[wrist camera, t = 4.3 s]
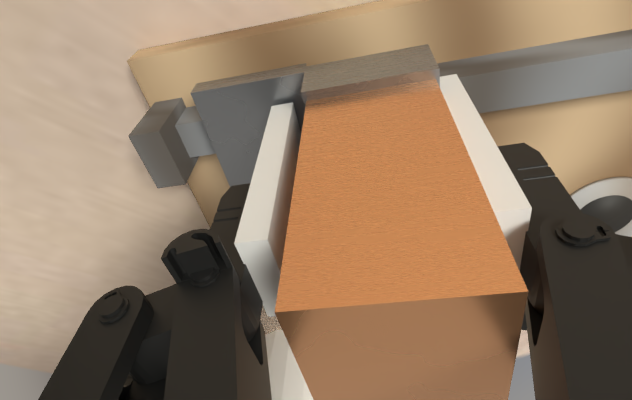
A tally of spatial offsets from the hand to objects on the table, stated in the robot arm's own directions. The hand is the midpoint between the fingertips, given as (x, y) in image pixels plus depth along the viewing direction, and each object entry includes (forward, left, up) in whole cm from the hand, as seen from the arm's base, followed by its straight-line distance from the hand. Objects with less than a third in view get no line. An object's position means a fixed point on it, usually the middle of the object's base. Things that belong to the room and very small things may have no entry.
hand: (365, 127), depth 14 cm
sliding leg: (0, -3, -2) cm, 4 cm away
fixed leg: (-4, -3, -2) cm, 5 cm away
